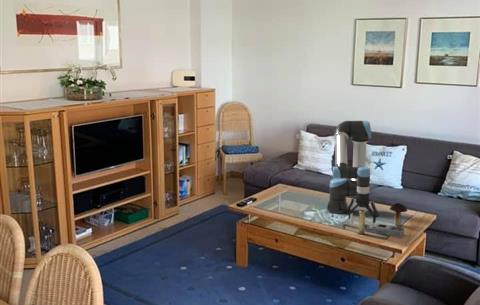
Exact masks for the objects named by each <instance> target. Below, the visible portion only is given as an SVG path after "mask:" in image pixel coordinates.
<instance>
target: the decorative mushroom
mask: <svg viewBox="0 0 480 305" xmlns="http://www.w3.org/2000/svg"><path fill="white" fill-rule="evenodd" d="M389 210H390V211H393V212H395V214H394V221H393V223H394V225H395V226H396V227H400V226H401V224H402V214H401V213H405V212H408V208H407V206H406V205H404V204H402V203H400V202H397V203H394V204H393V205H391V206H390V207H389Z"/></svg>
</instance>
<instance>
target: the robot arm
mask: <svg viewBox="0 0 480 305" xmlns="http://www.w3.org/2000/svg"><path fill="white" fill-rule="evenodd" d="M371 138H372V129H371V123H370V122H369V121H368V120H344V121H342V122H340V123H339V124H338V125H337V126H336V127H335V129H334V132H333V139H334V144H335V152H334V153H335V156H334V157H335V158H334V159H335V166H332V179H331V180H330V181H329V200H328V202H327V205H326V211H327V212H328V211H329V213H332V214H337V215H338V214H339V215H340V214H347V213H348V218H349V225H352V224H353V222H354V221H353V220H354V213H353V212H354V211H355V210H356V209H357V208H363V209H366V211H368V212H369V214H370V215H371V224H370V225H371V228H373V227H374V226H375V223H376V221H377V218H379V217H380V214H379V212H378V209H377V207H376V205H375V201H374V200H372V201H370V188H371V187H370V186H371V182H370V181H371V168H369V167H367V166H366V163H367V161H366V159H367V143H369V141H370V139H371ZM348 139H351V142H352V143H353V144H352V147H353V153H352V166H348ZM347 198H351V201H350V203H349V205H348V203H347ZM354 203H356V204H355V205H354ZM353 205H354V206H353Z"/></svg>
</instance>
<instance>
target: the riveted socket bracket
mask: <svg viewBox="0 0 480 305" xmlns="http://www.w3.org/2000/svg"><path fill="white" fill-rule="evenodd" d="M364 232H368V233H373V234H377V235H378V234H379V235H383V236H391V237H393V238H399V237H400V238H402V237H403V236H404V235H405V227H401V226H397V225H395V226H394V225H389V224H383V223H377V224H376V225H374V227H373V228H371V224H367V223H365V230H364Z"/></svg>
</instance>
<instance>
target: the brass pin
mask: <svg viewBox="0 0 480 305" xmlns="http://www.w3.org/2000/svg"><path fill="white" fill-rule="evenodd" d="M366 212H367V210H365V209H359V210H358V213H359V214H358V215H359V216H358V220H359V221H358V234H359V235H363V236H364V235H365V231H364V230H365V224H366Z"/></svg>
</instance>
